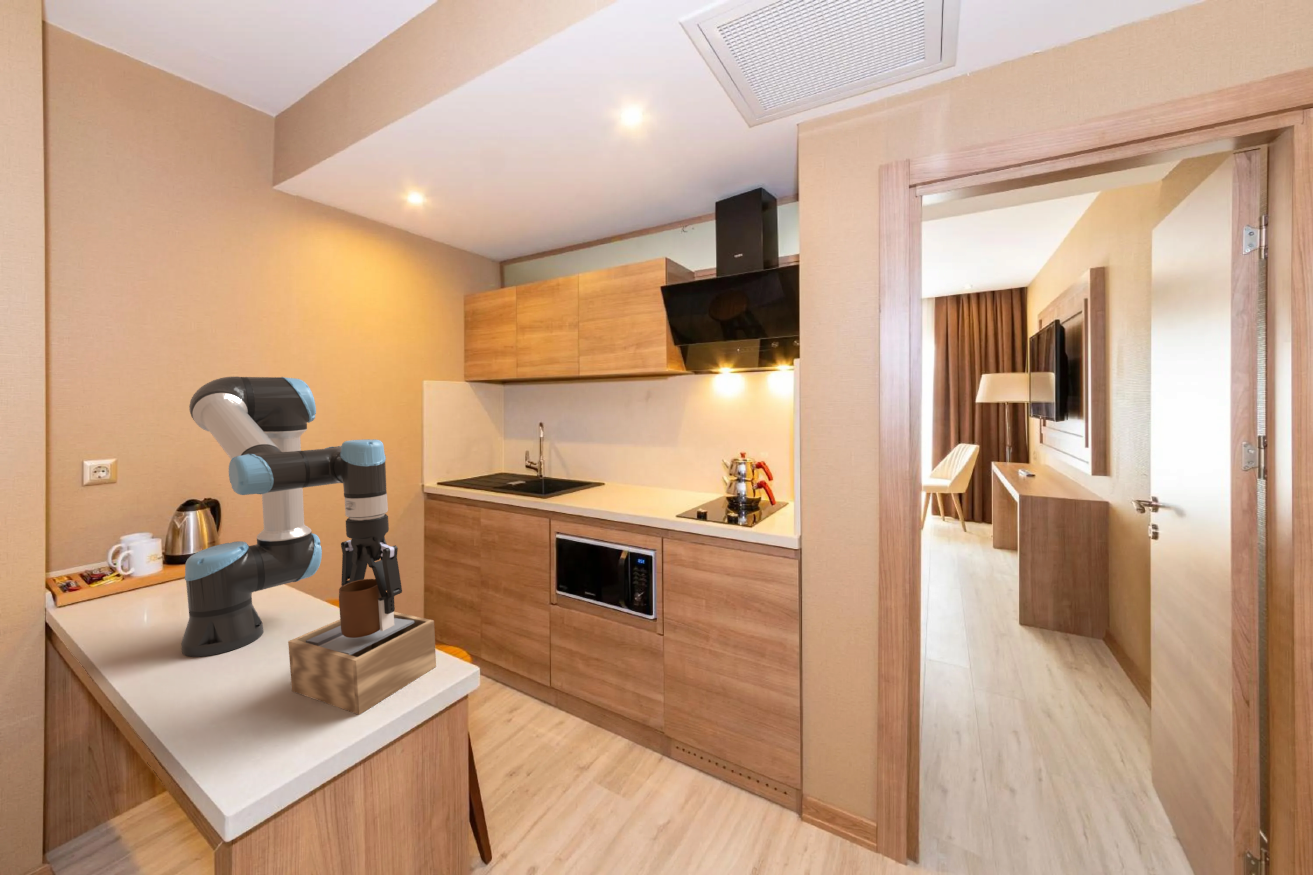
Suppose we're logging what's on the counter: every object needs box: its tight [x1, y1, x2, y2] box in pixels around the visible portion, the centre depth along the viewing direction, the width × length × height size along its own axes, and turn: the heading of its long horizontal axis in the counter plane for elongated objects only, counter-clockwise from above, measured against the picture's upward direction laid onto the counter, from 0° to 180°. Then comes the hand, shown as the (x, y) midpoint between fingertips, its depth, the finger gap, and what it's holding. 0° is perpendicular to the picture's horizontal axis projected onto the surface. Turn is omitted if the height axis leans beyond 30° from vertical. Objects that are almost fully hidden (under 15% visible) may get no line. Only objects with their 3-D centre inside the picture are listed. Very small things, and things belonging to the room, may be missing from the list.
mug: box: [338, 578, 381, 638], centre depth 103 cm, size 12×8×9 cm, turn 152°
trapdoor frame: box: [287, 611, 437, 716], centre depth 105 cm, size 20×18×10 cm
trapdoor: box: [306, 618, 415, 655], centre depth 105 cm, size 14×15×4 cm
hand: (373, 624), depth 103 cm, fingers closed on mug, 7 cm apart
